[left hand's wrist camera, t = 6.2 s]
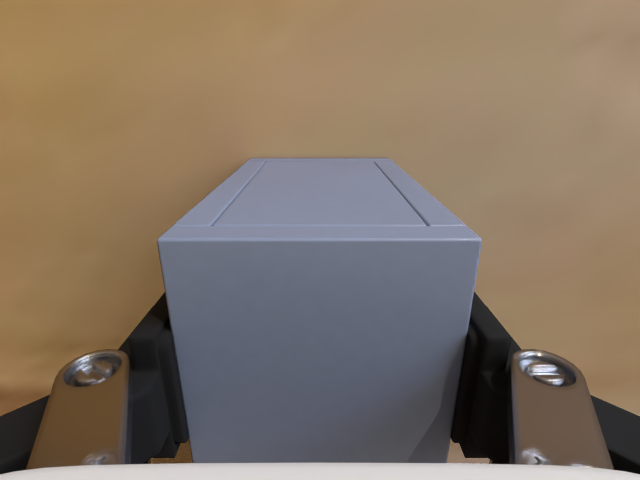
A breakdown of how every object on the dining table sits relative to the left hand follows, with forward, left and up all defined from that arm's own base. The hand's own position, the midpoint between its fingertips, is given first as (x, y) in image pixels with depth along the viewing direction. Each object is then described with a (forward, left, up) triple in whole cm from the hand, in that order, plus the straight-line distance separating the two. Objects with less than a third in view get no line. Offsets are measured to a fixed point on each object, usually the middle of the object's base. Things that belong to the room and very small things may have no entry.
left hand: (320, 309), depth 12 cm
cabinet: (+4, -5, -7) cm, 9 cm away
